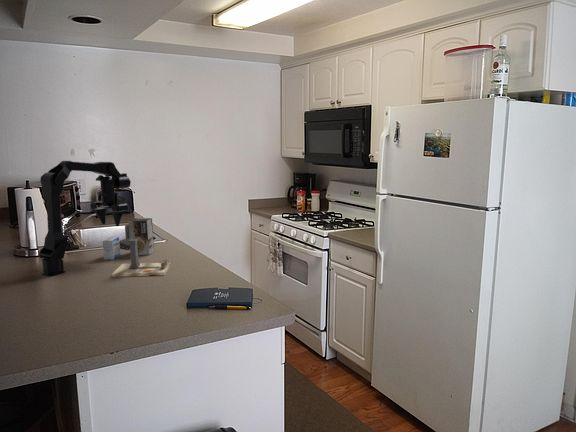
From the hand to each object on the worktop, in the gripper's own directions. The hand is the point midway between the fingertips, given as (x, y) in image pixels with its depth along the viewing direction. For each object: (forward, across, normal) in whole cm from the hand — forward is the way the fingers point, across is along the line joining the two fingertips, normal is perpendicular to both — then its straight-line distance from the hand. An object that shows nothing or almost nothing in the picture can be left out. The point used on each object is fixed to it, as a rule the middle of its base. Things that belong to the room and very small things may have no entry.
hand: (110, 225), depth 204 cm
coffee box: (+15, -6, -12) cm, 20 cm away
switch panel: (+15, -29, +8) cm, 33 cm away
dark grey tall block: (+13, -26, +10) cm, 31 cm away
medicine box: (+15, 0, 0) cm, 15 cm away
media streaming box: (+15, +10, -22) cm, 28 cm away
